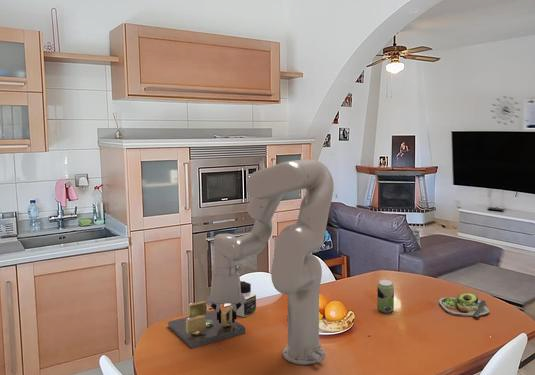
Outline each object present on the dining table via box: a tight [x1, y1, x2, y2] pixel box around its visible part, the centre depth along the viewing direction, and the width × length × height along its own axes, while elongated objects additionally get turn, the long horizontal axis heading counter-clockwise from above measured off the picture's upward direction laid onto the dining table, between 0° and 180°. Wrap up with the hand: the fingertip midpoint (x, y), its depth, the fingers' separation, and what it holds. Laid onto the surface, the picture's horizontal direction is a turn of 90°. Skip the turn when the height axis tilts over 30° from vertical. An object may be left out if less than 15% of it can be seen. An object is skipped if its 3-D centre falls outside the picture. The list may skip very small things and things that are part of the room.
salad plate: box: [438, 292, 490, 318], centre depth 175 cm, size 19×18×5 cm
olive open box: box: [187, 300, 208, 318], centre depth 166 cm, size 3×6×6 cm, turn 123°
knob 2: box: [221, 306, 232, 327], centre depth 159 cm, size 3×6×6 cm, turn 167°
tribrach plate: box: [167, 309, 246, 349], centre depth 160 cm, size 20×20×4 cm
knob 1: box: [186, 315, 206, 335], centre depth 152 cm, size 3×6×6 cm, turn 123°
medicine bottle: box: [229, 280, 257, 318], centre depth 175 cm, size 7×7×12 cm
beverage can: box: [376, 279, 395, 314], centre depth 174 cm, size 6×7×12 cm
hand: (226, 321), depth 159 cm, fingers open, 4 cm apart
